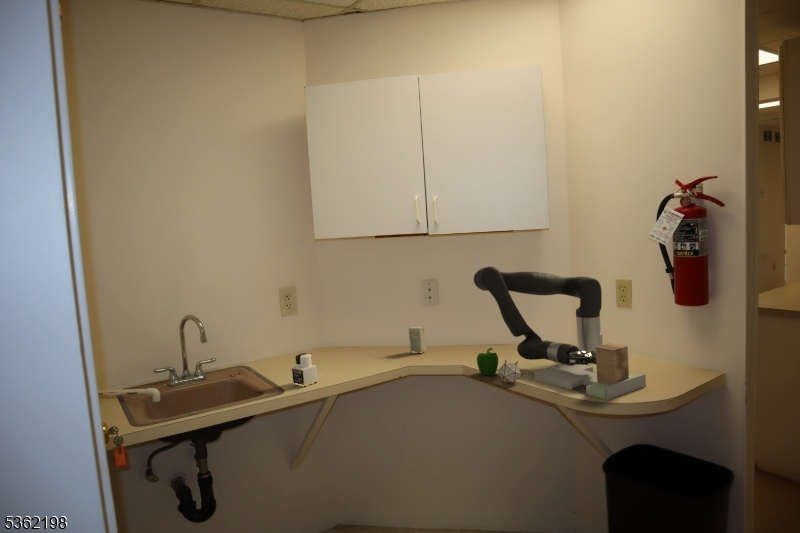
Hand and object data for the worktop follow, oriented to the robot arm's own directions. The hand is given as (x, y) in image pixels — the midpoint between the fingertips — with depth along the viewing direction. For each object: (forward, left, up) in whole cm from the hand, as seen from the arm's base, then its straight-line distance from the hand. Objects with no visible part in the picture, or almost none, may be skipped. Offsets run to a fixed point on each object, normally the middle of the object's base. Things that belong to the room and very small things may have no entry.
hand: (603, 362), depth 173 cm
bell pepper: (+17, -39, -9) cm, 44 cm away
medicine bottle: (+76, -81, -9) cm, 112 cm away
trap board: (0, -7, -9) cm, 11 cm away
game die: (+19, -25, -9) cm, 33 cm away
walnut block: (0, +4, -6) cm, 7 cm away
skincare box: (+17, -89, -9) cm, 92 cm away
